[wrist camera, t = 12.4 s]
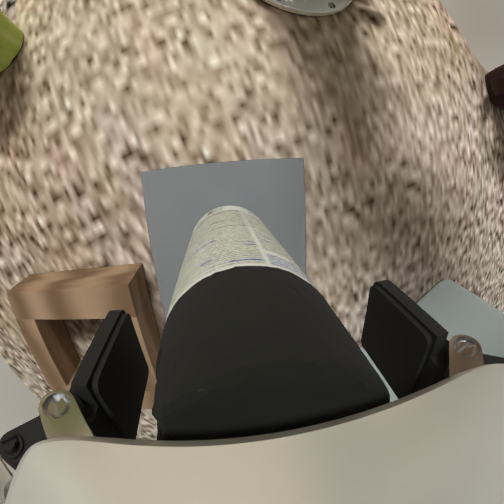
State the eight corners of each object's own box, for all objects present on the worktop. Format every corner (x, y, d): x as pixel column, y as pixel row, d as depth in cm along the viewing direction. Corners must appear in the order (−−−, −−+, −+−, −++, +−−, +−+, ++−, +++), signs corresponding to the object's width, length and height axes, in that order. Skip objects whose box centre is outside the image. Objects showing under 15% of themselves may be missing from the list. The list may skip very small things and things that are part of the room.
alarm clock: (362, 387, 35) (425, 491, 16) (341, 358, 32) (419, 485, 13) (452, 312, 34) (537, 384, 14) (444, 273, 31) (553, 346, 11)
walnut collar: (142, 263, 25) (127, 284, 20) (172, 378, 30) (168, 408, 25) (29, 274, 23) (6, 292, 18) (71, 376, 28) (59, 400, 23)
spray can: (187, 272, 24) (155, 497, 6) (195, 197, 22) (117, 357, 4) (259, 279, 26) (342, 487, 7) (272, 208, 24) (443, 354, 5)
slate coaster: (299, 158, 24) (303, 158, 23) (301, 297, 28) (305, 302, 27) (144, 171, 22) (141, 172, 21) (167, 312, 27) (165, 318, 26)
